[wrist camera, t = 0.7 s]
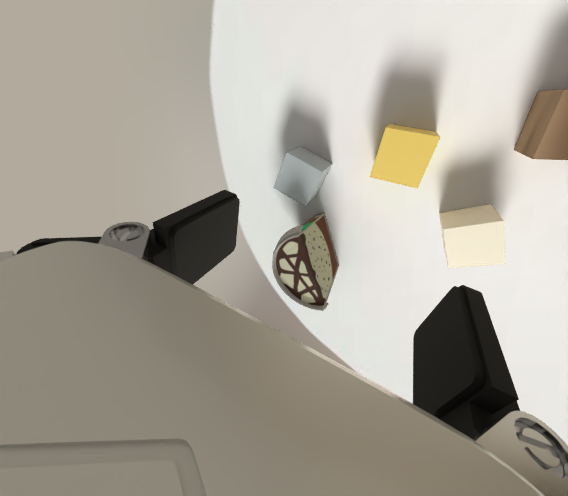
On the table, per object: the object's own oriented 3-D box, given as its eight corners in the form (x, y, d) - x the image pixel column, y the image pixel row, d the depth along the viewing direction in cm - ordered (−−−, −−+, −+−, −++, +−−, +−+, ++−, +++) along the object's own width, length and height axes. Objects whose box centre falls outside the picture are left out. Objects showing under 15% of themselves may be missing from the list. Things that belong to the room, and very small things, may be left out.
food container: (286, 210, 39) (255, 238, 31) (321, 203, 36) (297, 231, 28) (307, 274, 44) (285, 312, 36) (341, 272, 40) (324, 313, 33)
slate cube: (332, 163, 33) (321, 172, 29) (316, 194, 36) (305, 206, 32) (301, 146, 33) (286, 152, 29) (288, 178, 36) (273, 187, 32)
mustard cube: (436, 131, 26) (440, 137, 23) (416, 176, 29) (417, 188, 25) (389, 123, 28) (385, 127, 24) (375, 167, 31) (369, 177, 27)
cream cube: (490, 203, 28) (503, 220, 24) (493, 242, 29) (505, 264, 25) (439, 212, 30) (443, 229, 26) (444, 247, 32) (448, 268, 28)
